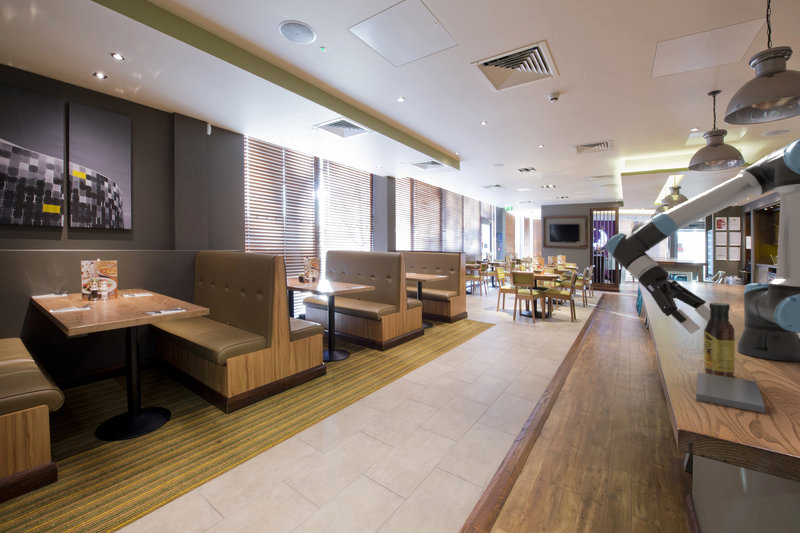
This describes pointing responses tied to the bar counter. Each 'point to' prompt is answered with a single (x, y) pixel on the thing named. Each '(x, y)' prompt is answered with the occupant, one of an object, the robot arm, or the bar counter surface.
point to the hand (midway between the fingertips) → (707, 328)
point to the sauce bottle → (719, 342)
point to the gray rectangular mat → (729, 392)
